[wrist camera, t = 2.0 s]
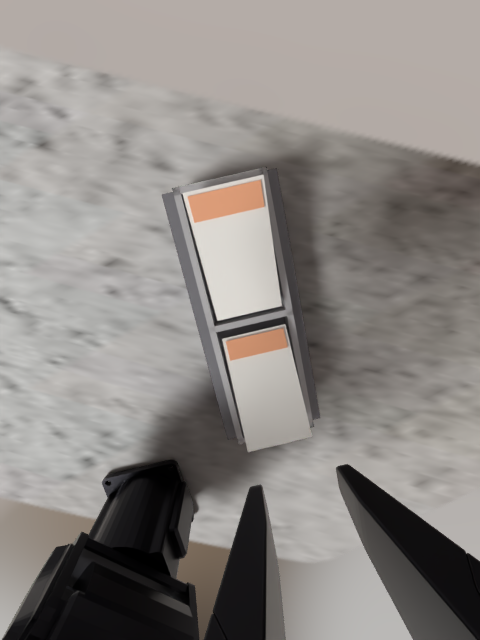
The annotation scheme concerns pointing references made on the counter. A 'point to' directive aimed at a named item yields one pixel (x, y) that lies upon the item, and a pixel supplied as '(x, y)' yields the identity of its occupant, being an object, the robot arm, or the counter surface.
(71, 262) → the counter surface
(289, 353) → the block
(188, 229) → the rocker switch panel
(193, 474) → the counter surface
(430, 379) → the counter surface
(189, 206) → the rocker
